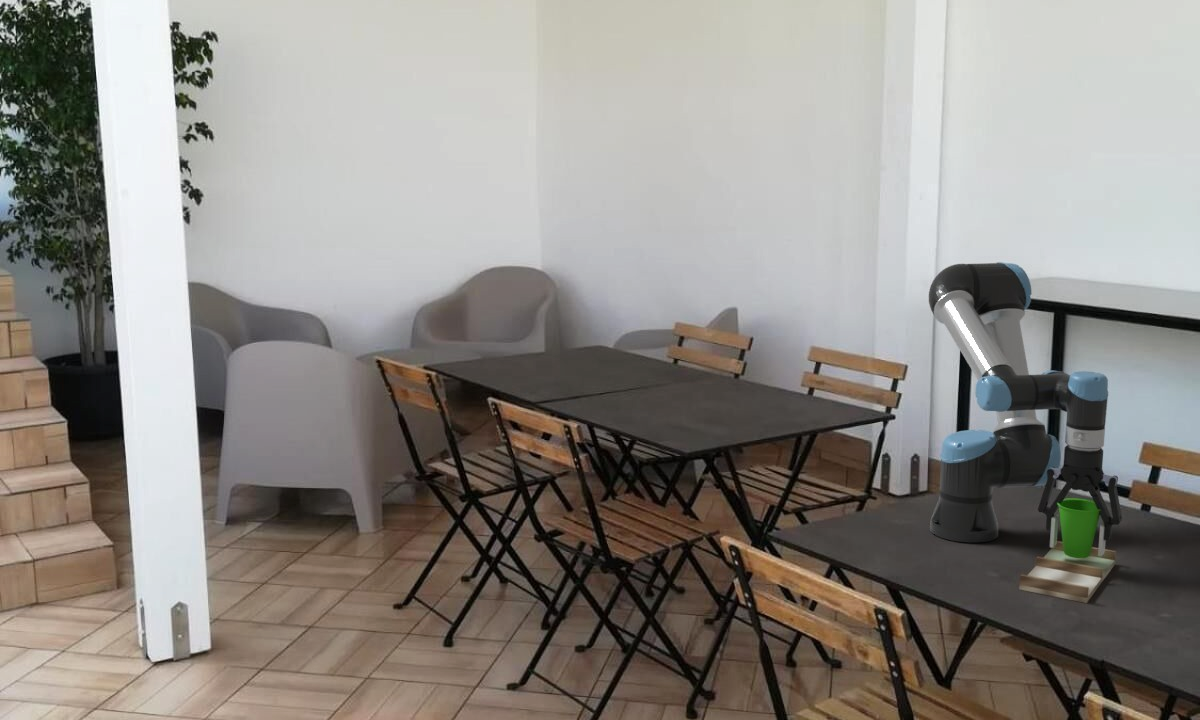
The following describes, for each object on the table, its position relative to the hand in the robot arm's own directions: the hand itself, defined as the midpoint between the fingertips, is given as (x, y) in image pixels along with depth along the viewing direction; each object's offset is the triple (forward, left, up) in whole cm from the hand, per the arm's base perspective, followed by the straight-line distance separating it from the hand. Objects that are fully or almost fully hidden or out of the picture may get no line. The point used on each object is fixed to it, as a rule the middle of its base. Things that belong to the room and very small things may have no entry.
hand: (1076, 549), depth 255 cm
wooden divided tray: (0, -6, -4) cm, 7 cm away
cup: (0, 0, -1) cm, 1 cm away
